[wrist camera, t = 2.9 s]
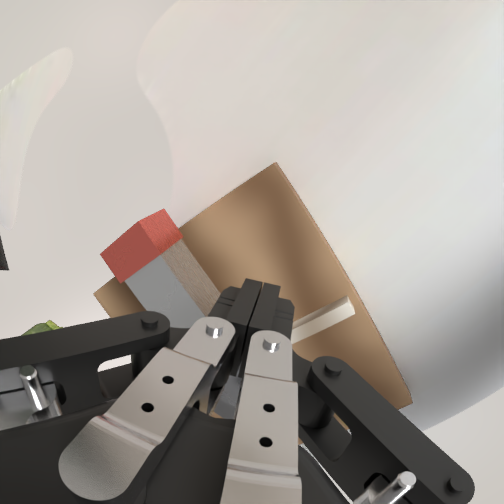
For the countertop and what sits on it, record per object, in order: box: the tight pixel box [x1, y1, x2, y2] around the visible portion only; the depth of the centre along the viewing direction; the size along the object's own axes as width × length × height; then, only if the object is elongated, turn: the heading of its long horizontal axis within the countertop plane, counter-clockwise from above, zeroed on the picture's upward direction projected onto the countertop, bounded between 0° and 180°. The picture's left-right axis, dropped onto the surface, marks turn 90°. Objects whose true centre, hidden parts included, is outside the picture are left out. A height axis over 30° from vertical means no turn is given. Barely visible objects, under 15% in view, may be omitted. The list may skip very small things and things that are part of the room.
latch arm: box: [100, 209, 242, 419], centre depth 18 cm, size 14×4×3 cm, turn 34°
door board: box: [94, 162, 413, 445], centre depth 23 cm, size 18×22×3 cm
